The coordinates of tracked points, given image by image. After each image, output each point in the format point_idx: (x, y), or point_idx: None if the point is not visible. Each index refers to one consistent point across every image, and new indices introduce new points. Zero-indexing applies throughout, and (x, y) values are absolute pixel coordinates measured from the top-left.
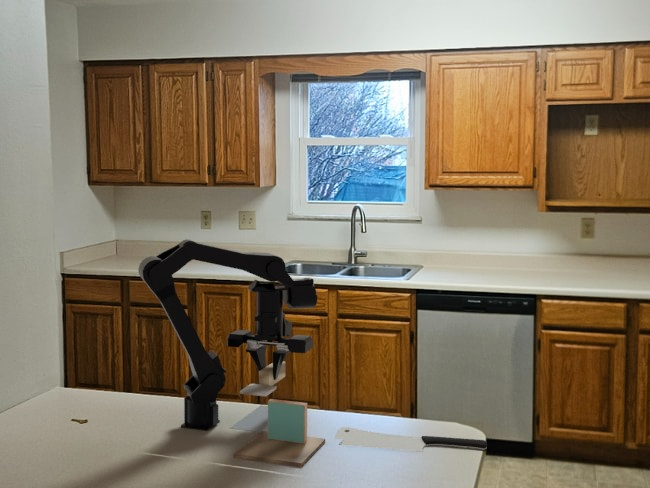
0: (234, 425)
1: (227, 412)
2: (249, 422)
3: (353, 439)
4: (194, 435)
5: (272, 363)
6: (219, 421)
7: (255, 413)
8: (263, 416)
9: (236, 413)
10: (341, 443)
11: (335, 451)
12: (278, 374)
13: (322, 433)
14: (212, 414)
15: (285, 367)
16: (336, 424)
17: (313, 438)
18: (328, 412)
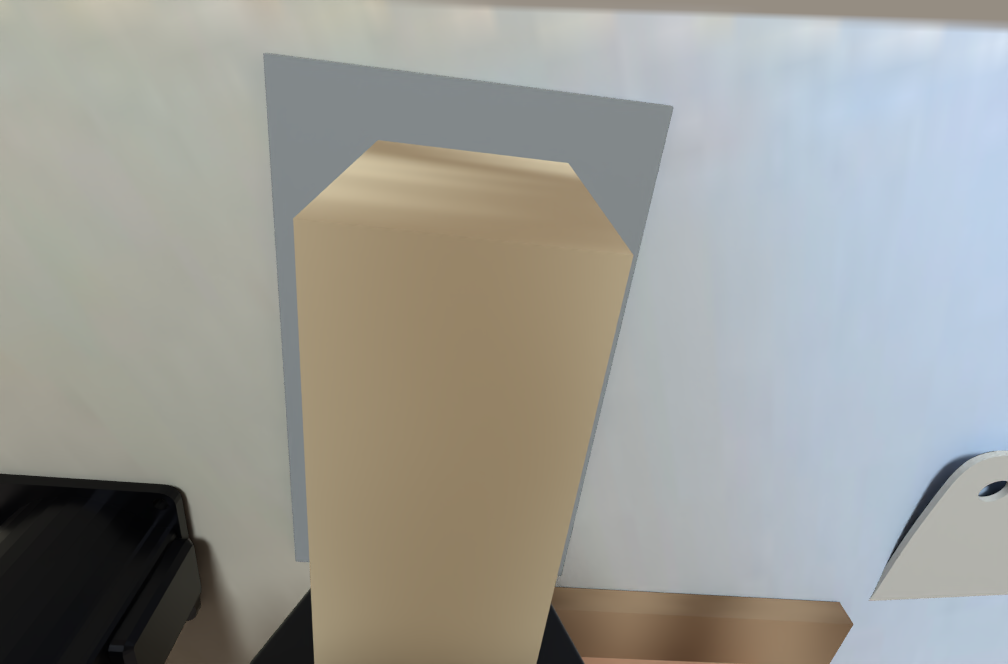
0: (301, 526)
1: (87, 286)
2: None
3: (998, 553)
4: (173, 648)
5: (331, 505)
6: (178, 503)
7: None
8: None
9: (168, 291)
10: (921, 587)
11: (878, 655)
12: (560, 620)
13: (834, 495)
14: (164, 659)
15: (599, 207)
16: (943, 341)
17: (792, 632)
18: (924, 72)
